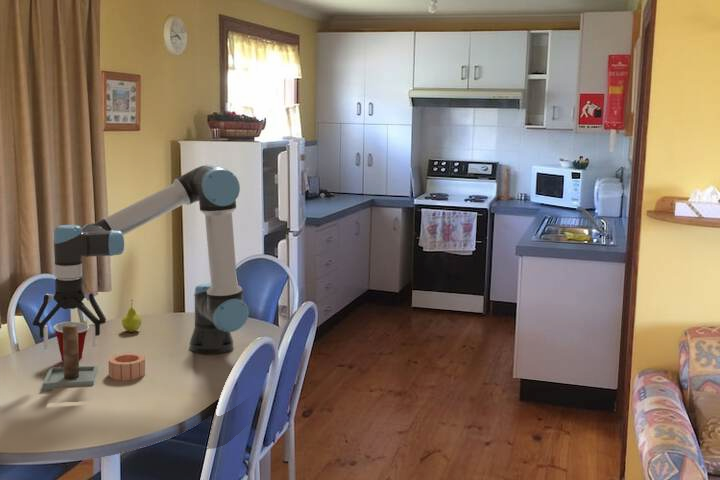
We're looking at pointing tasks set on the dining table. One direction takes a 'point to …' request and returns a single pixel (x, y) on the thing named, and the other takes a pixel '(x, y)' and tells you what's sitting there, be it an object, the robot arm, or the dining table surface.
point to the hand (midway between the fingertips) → (70, 346)
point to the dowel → (70, 351)
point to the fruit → (131, 321)
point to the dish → (57, 380)
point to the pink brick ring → (126, 366)
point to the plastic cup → (81, 336)
